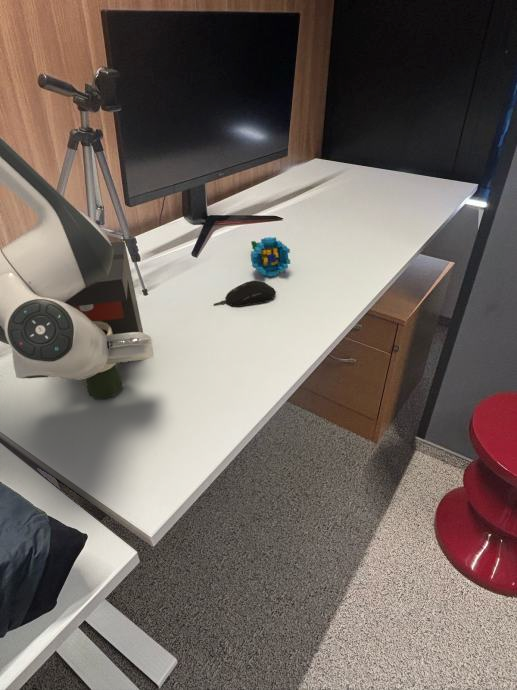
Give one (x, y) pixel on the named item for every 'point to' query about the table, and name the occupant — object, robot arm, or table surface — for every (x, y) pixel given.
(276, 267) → the toy flower
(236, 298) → the gaming mouse
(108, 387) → the character mug
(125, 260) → the dark brown box
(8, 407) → the table surface
